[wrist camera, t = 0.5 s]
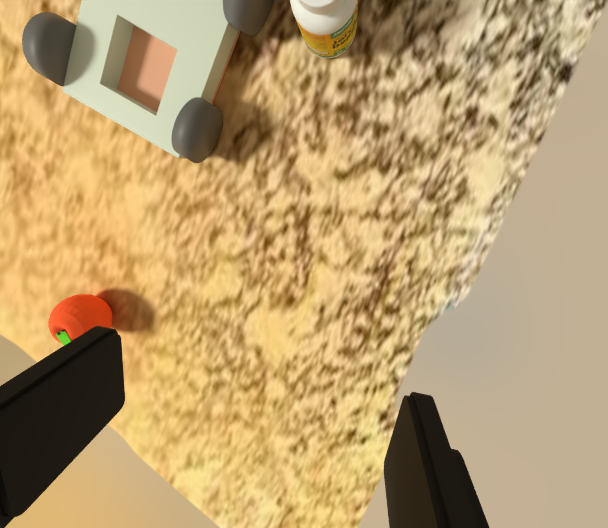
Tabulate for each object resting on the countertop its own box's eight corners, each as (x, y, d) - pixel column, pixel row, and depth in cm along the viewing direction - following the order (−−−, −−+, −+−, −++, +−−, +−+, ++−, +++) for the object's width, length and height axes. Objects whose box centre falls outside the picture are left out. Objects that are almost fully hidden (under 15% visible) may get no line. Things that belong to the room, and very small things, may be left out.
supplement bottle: (320, -17, 29) (307, -99, 20) (368, 15, 29) (376, -52, 20) (292, 41, 31) (268, -9, 22) (337, 71, 31) (331, 33, 22)
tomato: (137, 327, 45) (99, 356, 38) (101, 342, 46) (59, 372, 40) (106, 279, 43) (61, 300, 36) (70, 296, 44) (21, 319, 38)
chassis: (117, -127, 29) (60, -199, 23) (285, -27, 29) (269, -73, 24) (69, 88, 35) (16, 73, 30) (207, 167, 36) (180, 167, 30)
